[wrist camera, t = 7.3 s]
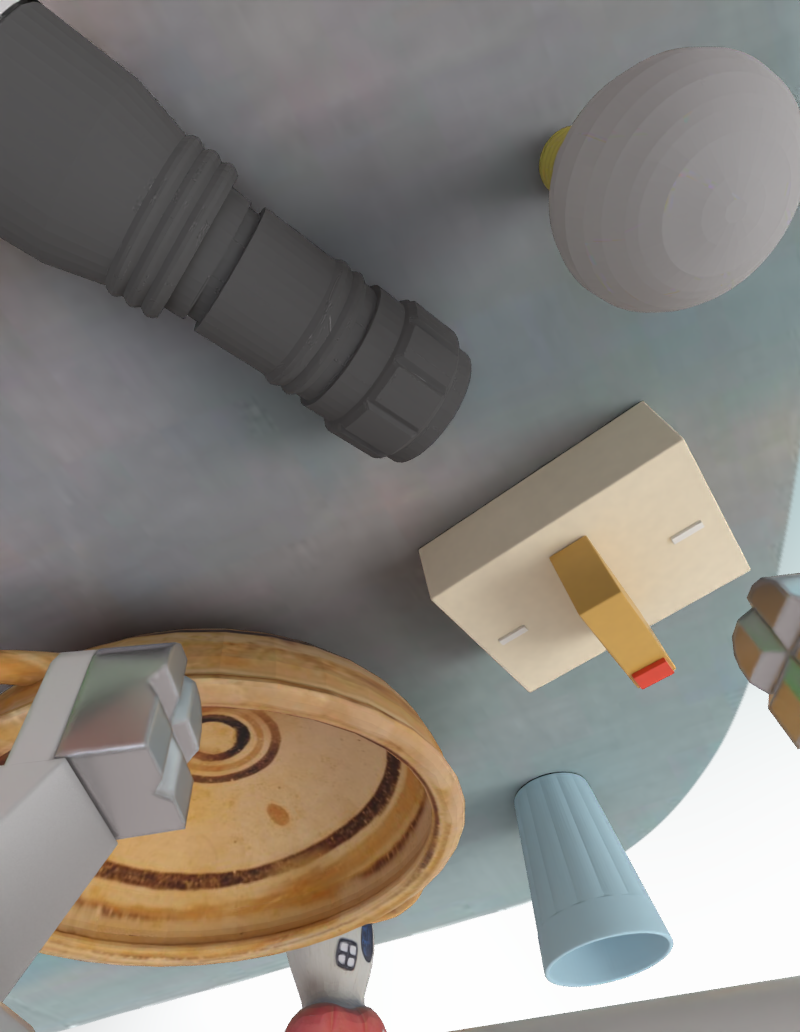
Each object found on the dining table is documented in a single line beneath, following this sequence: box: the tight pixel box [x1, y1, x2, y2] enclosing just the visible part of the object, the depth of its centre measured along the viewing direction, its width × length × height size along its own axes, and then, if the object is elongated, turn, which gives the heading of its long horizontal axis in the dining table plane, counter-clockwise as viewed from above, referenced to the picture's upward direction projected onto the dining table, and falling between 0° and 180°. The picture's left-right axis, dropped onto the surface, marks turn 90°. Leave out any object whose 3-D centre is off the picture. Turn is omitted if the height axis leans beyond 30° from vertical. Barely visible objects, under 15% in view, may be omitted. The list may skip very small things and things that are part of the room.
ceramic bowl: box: [0, 629, 465, 967], centre depth 31 cm, size 30×24×8 cm
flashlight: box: [0, 0, 471, 462], centre depth 19 cm, size 15×5×5 cm, turn 52°
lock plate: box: [418, 401, 751, 693], centre depth 29 cm, size 12×9×4 cm
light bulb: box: [539, 47, 800, 312], centre depth 16 cm, size 5×6×10 cm
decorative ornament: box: [285, 923, 386, 1032], centre depth 41 cm, size 9×7×15 cm
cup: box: [514, 773, 673, 987], centre depth 40 cm, size 8×8×10 cm
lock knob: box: [549, 536, 676, 689], centre depth 26 cm, size 6×2×4 cm, turn 36°
